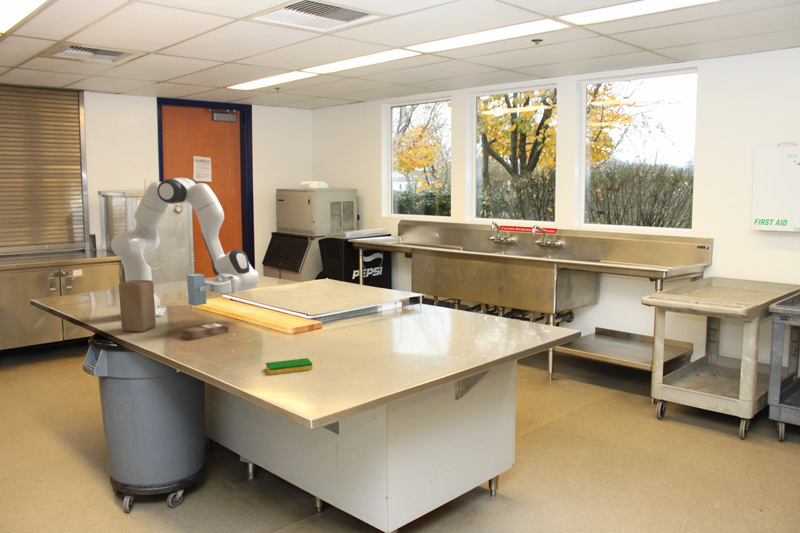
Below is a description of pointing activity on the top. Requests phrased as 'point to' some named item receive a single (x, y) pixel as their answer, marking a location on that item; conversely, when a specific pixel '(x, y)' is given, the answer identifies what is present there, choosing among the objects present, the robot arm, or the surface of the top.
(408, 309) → the top surface
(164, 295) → the top surface
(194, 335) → the plinth
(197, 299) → the post
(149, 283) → the block
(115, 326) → the top surface
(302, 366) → the dish sponge
